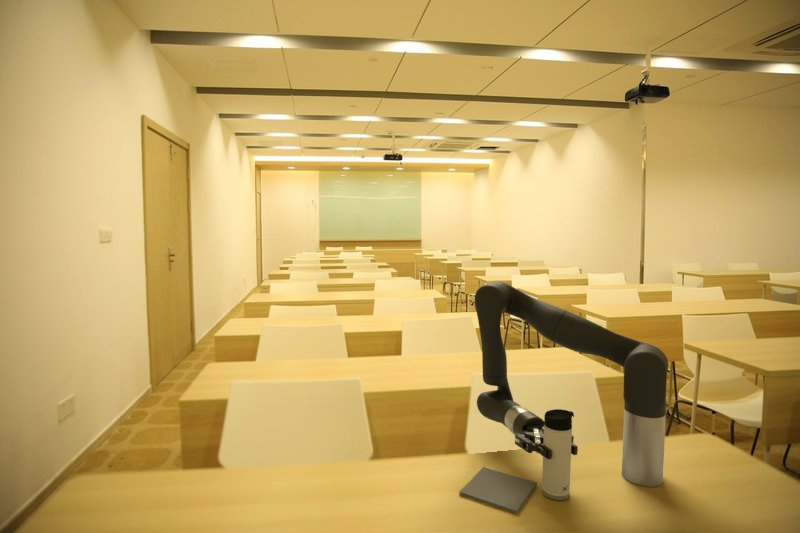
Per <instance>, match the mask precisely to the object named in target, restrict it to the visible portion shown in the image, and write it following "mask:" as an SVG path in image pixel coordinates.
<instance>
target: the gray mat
mask: <svg viewBox="0 0 800 533" xmlns="http://www.w3.org/2000/svg"><path fill="white" fill-rule="evenodd" d="M537 484H538V482H536V481H534V480H530V479H526V478H524V477H520V476H516V475H513V474H509V473H506V472H502V471H499V470H496V469H491V468H488V467H485V466H483V467H482V468H481V469H480V470H479V471H478V472H477V473H476V474H475V475H474V476H473V477H472V478H471V479H470V480H469V481H468V482H467V484H465V485H464V487H463V488H462V489H460V491H459V494H458V495H459V496H461V497H464V498H468V499H471V500H473V501H476V502H479V503H483V504H484V505H488V506H491V507H493V508H497V509H500V510H502V511H506V512H508V513H509V512H510V513H511V514H515V515H518V514H519V512H520V510H521V509H522V507H523V506H524V504H525V503H526V502H527V500H528V499H529V498H530V496H531V494H532V493H533V492H534V490H535V489H536V487H537V486H538V485H537Z"/></svg>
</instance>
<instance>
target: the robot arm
mask: <svg viewBox="0 0 800 533" xmlns="http://www.w3.org/2000/svg"><path fill="white" fill-rule="evenodd" d="M474 295H475V296H474V304H475V305H474V306H475V312H476V316H477V321H478V327H479V333H480V341H481V342H480V344H481V356H482V357H481V358H482V360H481V361H482V364H481V365H482V380H483V382H484V384H486V385H488V386H492V387H497V388H496V390H495V389H494V390H490V391H484V392H481V393H480V394H479V395H478V397H477V399H476V407H477V410H478V411H479V413H480V415H482V416H483V417H484V418H487V419H488V420H490V421H493V422H496V423H498V424H499V423H500V424H502V425H503V426H504V427H506V428H507V429H508V430H509V431H510V433H512V434H513V435H514V444H515V445H516V446H517V447H519V448H521V449H522V450H523V451H524V452H526V453H528V454H532V453H533V452H534V453H536V454H540V455H541V456H542V458H543V457H545V458H547V459H548V460H549V459H552V451H551V450H550V449H549V448H548V447H546V446H545V445H544V444H543V439H544V421H545V420H543V418H541V417H540V416H539V415H536V414H535V413H534V412H532V411H531V410H529V409H527V408H526V407H523V406H522V405H520V404H519V403H517V402H515V401H514V398H513V395H512V391H511V388H510V384H509V380H508V359H507V351H506V348H505V344H504V342H503V337H502V332H501V321H502V314H503V313H505V314H508V315H511V316H512V317H516V318H518V319H520V320H522V321H524V322H525V323H526V324H529V325H530V326H531V327H532V328H533V329H534V330H535V331H536V332H537V333H539V334H540V335H541V336H542V337H544V338H545V339H547V340H549V341H551V342H553V343H555V344H557V345H559V346H561V347H563V348H566V349H569V350H571V351H575V352H578V353H582V354H587V355H590V356H591V355H592V356H596V357H600V358H603V359H607V360H609V361H610V362H613V363H615V364H617V365H619V366H621V367H622V368H624V369H623V397H622V398H623V406H624V407H623V429H622V430H623V431H622V433H623V434H622V435H623V436H622V456H621V457H622V458H621V459H622V460H621V475H622V477H623V478H624V479H626V480H627V481H628V482H630V483H633V484H635V485H638V486H643V487H648V488H649V487H651V488H653V487H658V486H661V485H662V484H663V483H664V482H663V481H664V480H663V479H664V464H665V463H664V458H665V439H666V438H665V435H666V416H667V415H666V414H667V413H666V411H667V384H668V383H667V381H668V370H669V360H668V357H667V355H666V354H665V352H663V351H662V349H661V348H659V347H657V346H655V345H653V344H649V343H646V342H644V341H643V342H642V341H639V340H636V339H633V338H630V337H628V336H624V335H621V334H618V333H616V332H614V331H612V330H610V329H608V328H605V327H603V326H602V325H599V324H598V323H595V322H593V321H591V320H589V319H586V318H584V317H582V316H580V315H578V314H575V313H573V312H571V311H568V310H566V309H563V308H560V307H558V306H555V305H553V304H551V303H548V302H546V301H543V300H540V299H538V298H535V297H532V296H531V295H529V294H527V293H524V292H523V291H522V290H520V289H517V288H515V287H514V286H513V285H510V284H508V283H507V282H505V281H504V282H503V281H501V280H493V281H490V282H488V283H485V284H483V285H482V286H480V287H478V289H477V290H476V292H475V294H474ZM574 438H575V437H574V435H573V434H572V442H571V456H578V452H579V450H578V449H579V448H578V445H577V444H576V443H574Z"/></svg>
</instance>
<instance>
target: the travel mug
mask: <svg viewBox="0 0 800 533" xmlns="http://www.w3.org/2000/svg"><path fill="white" fill-rule="evenodd" d="M543 417H544V420H543V421H544V439H543V444H544V445H545V446H546V447H548V448H549V449H550V450H551V451H552V459H549V460H548V459H547V458H545V457H543V456H542V472H541V473H542V476H541V478H542V479H541V480H542V481H541V492H542V494H543V495H544V496H545V497H547V498H548V499H550V500H553V501H565V500H567V499H568V498H570V492H571V491H570V490H571V489H570V488H571V469H572V467H571V464H572V462H571V461H572V454H571V442H572V435H573V425H572V424H573V419H572V418H574V417H575V413H574V412H573V411H571V410H570V411H569V410H567V409H561V408H560V409H557V408H556V409H551V410H547V411H546V412H545V413H544V416H543Z"/></svg>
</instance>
